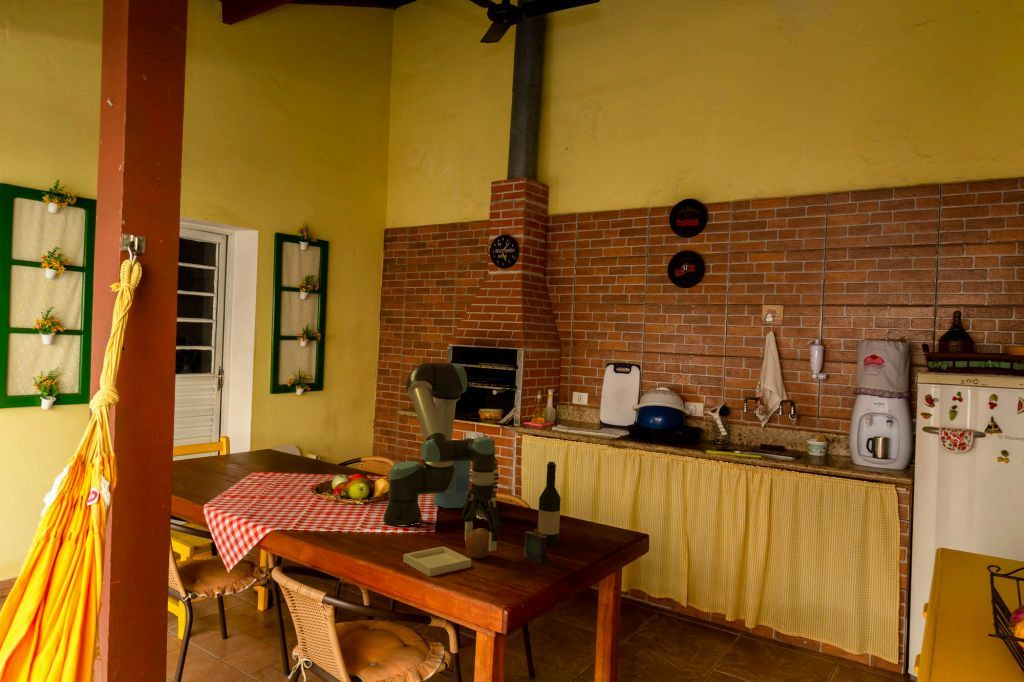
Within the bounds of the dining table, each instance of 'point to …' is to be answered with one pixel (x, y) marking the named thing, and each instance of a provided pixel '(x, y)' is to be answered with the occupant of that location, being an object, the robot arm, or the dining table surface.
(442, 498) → the water jug
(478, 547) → the onion
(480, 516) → the decorative candle
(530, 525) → the dining table surface
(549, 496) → the wine bottle
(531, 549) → the flask
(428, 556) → the dish
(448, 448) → the robot arm
